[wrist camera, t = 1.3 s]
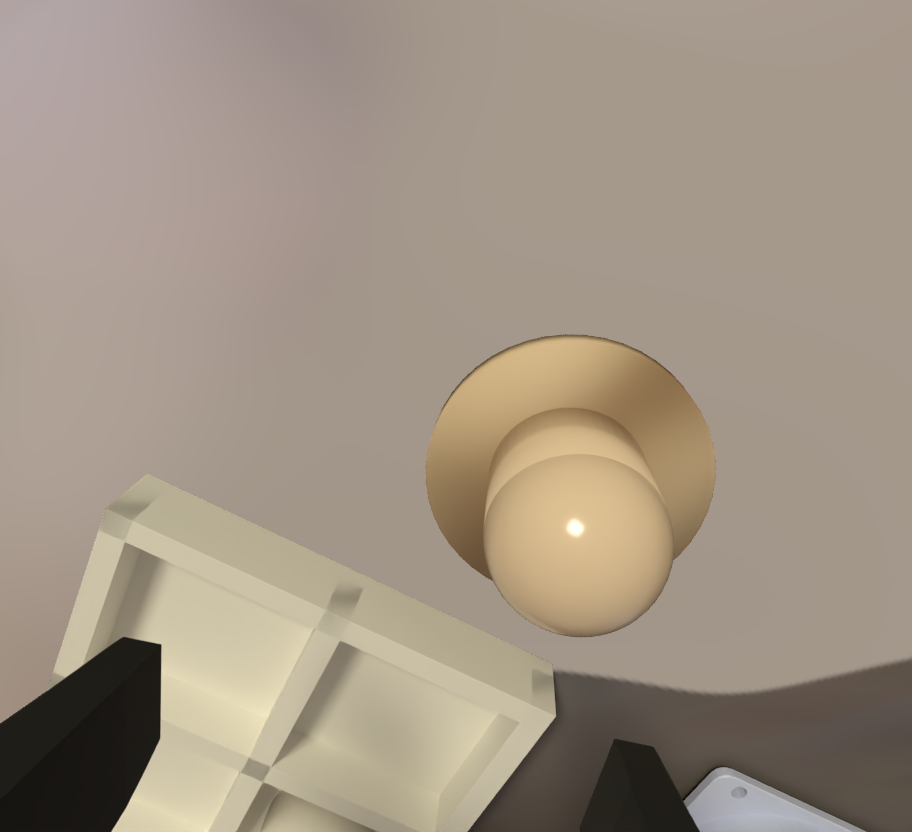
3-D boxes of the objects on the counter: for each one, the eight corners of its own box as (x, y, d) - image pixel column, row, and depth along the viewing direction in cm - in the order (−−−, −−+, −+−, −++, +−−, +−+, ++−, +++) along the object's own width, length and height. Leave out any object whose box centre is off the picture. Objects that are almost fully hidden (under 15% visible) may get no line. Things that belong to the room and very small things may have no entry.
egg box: (552, 663, 21) (556, 716, 19) (318, 983, 29) (303, 1045, 27) (147, 473, 20) (105, 508, 18) (15, 860, 28) (-25, 915, 26)
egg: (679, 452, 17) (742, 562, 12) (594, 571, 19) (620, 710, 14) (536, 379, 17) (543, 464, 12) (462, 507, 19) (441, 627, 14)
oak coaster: (766, 417, 18) (777, 428, 17) (611, 622, 20) (615, 639, 20) (508, 282, 17) (508, 287, 16) (386, 514, 20) (381, 528, 19)
